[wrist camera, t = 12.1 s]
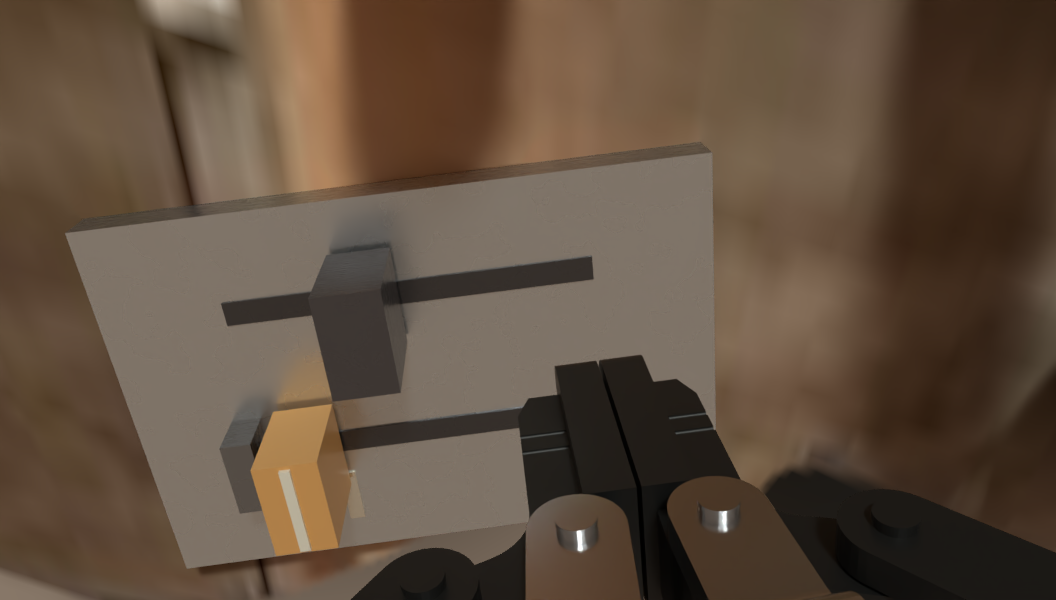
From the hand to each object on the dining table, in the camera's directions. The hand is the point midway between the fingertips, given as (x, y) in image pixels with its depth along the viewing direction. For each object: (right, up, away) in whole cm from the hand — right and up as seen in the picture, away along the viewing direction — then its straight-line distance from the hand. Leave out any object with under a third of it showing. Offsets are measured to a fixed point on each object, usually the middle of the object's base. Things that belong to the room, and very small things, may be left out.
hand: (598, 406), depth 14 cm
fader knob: (-12, -6, +29) cm, 32 cm away
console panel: (-7, -1, +30) cm, 31 cm away
